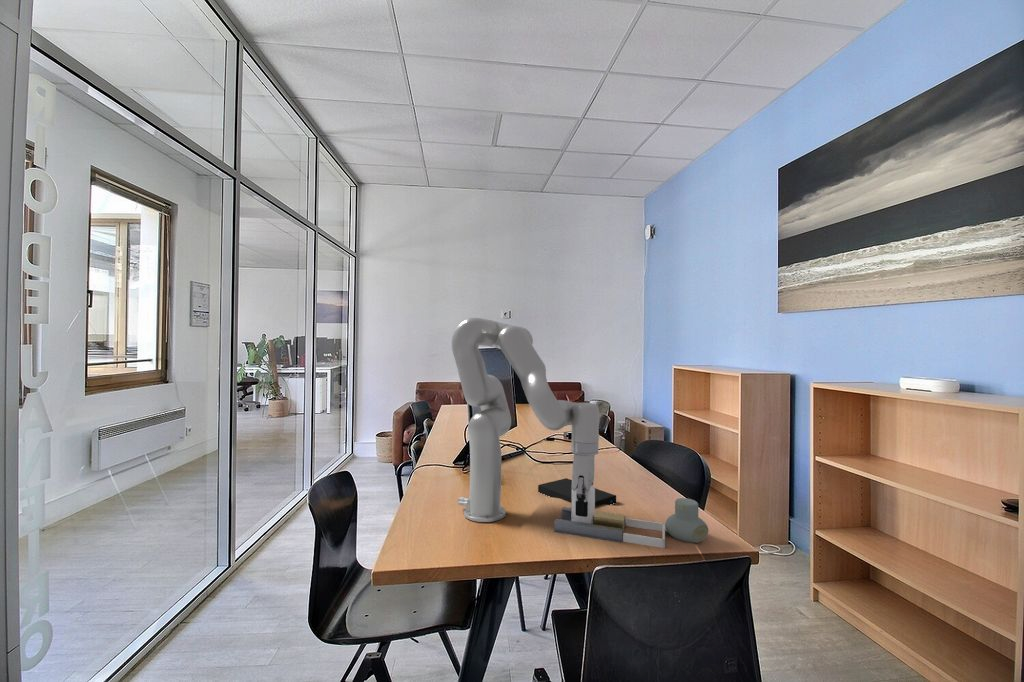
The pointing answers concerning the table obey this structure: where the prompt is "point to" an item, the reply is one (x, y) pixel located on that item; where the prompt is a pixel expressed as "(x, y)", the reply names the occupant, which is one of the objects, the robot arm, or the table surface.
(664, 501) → the table surface
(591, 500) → the can
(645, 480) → the table surface
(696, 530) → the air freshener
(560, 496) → the external hard drive
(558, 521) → the slot rail
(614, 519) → the chip
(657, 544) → the tray
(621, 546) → the table surface
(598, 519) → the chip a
